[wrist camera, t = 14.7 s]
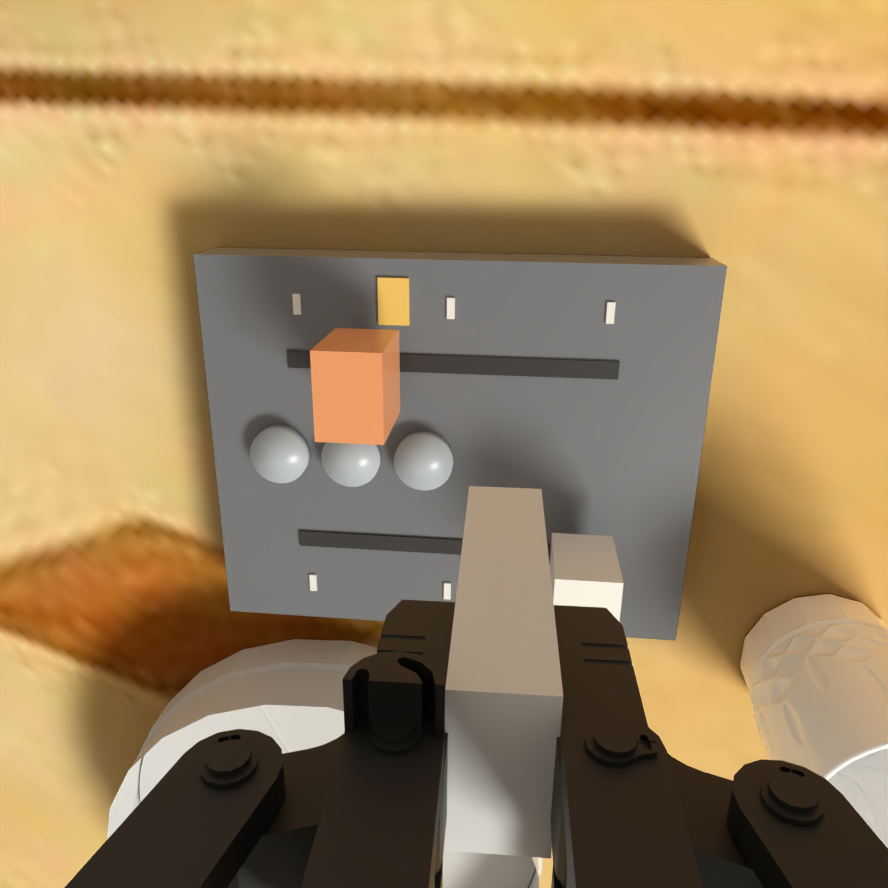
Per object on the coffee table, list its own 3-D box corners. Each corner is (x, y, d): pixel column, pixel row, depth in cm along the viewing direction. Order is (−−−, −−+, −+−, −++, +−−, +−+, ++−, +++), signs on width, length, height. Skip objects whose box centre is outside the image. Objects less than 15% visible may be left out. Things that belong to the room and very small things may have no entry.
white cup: (779, 748, 38) (863, 941, 28) (694, 634, 36) (753, 801, 27) (935, 675, 35) (1081, 860, 26) (852, 550, 34) (977, 700, 24)
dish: (440, 578, 37) (427, 639, 32) (603, 900, 43) (612, 991, 38) (73, 705, 42) (16, 774, 37) (265, 977, 48) (237, 1065, 43)
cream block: (546, 586, 33) (549, 654, 28) (550, 519, 32) (554, 579, 27) (603, 590, 32) (615, 659, 28) (609, 522, 31) (623, 583, 27)
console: (248, 582, 37) (225, 618, 34) (217, 247, 32) (186, 255, 29) (665, 608, 36) (678, 648, 33) (711, 257, 30) (731, 268, 27)
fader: (345, 400, 31) (314, 441, 26) (342, 321, 30) (310, 350, 25) (404, 402, 30) (383, 445, 26) (404, 323, 29) (381, 353, 25)
